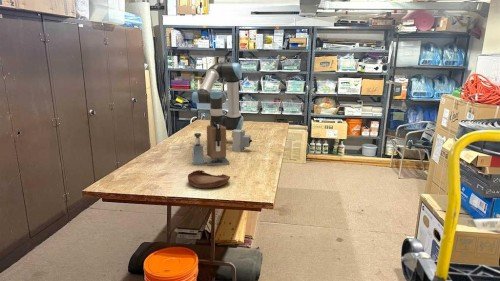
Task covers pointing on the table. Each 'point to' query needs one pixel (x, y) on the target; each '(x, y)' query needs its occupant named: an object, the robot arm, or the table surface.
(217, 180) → the broken brown bowl
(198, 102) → the robot arm
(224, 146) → the wooden block
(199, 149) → the press
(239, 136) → the circuit breaker
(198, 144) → the plunger
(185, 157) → the table surface
